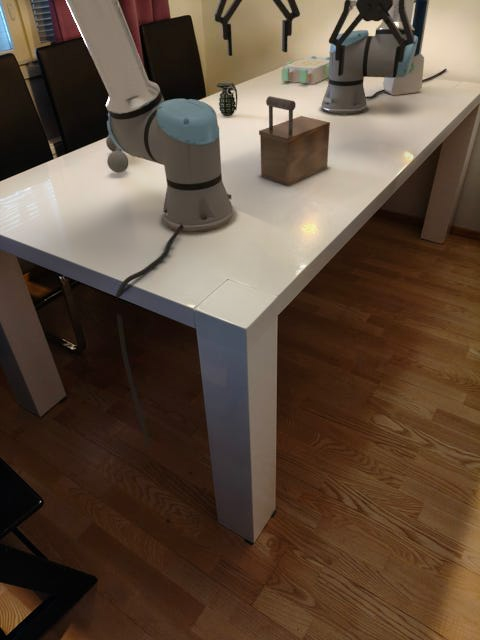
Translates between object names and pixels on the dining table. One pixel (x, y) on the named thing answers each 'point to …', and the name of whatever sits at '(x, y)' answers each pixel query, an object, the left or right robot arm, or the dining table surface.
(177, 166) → the left robot arm
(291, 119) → the lid
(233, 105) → the grenade
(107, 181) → the dining table surface
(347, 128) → the dining table surface
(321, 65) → the decorative block
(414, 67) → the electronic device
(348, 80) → the right robot arm
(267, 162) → the chest
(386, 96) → the dining table surface
